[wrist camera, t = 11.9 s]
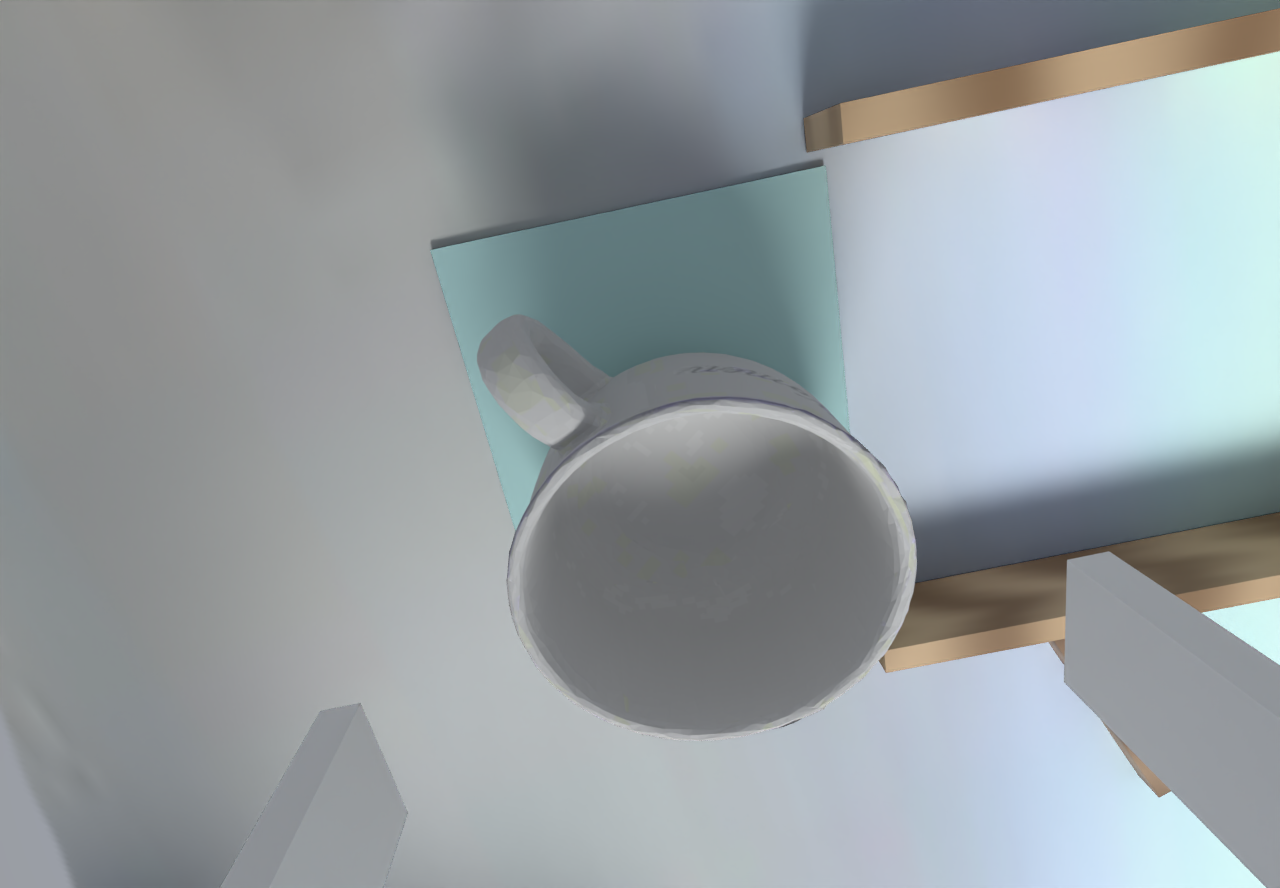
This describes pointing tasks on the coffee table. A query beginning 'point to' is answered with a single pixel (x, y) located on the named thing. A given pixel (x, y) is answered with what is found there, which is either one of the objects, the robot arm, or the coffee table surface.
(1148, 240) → the coffee table surface
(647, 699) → the teacup
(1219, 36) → the cubby
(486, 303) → the mat
